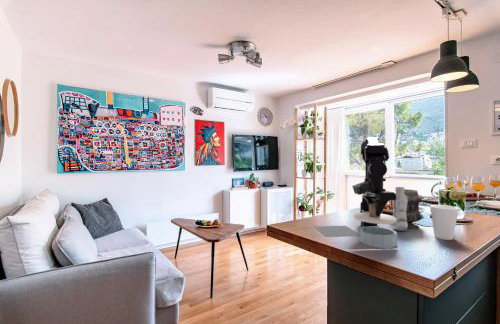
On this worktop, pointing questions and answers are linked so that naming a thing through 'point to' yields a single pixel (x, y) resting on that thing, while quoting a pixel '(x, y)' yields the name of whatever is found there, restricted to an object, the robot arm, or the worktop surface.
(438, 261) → the worktop surface
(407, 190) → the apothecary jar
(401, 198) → the plastic bottle
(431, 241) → the worktop surface
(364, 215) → the lid
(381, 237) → the dish
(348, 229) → the mat
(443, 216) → the foam cup
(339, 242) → the worktop surface
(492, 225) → the worktop surface
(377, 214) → the robot arm
